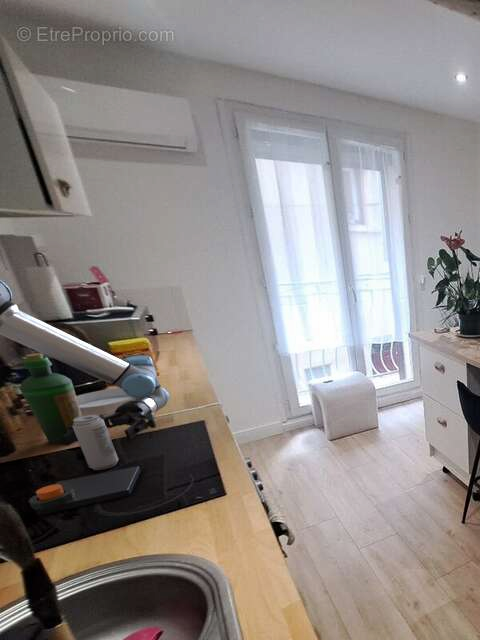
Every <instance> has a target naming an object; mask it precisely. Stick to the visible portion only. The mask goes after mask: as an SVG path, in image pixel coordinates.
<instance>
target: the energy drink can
mask: <svg viewBox="0 0 480 640" xmlns="http://www.w3.org/2000/svg"><path fill="white" fill-rule="evenodd" d="M73 421H74V424H73V426H72V427H73V429H74V432H75V434H76V436H77V439H78V440H77V441H78V443H79V446H80V449H81V451H82V453H83V456H84V459H85V460H86V464H87V465H88V468H91V469H92V470H94V471H101V470H102V471H103V470H106V469H109V468H112V467H115V466H116V465H117V464H118V462H119V459H120V458H119V457H118V454H117V452H116V449H115V446H114V444H113V442H112V441H113V440H112V438H111V436H110V433H109V430H108V428H107V427H106V425H105V422H104V420H103V419H101V418H100V417H99V415H95V414H93V415H85V416H81V417H78V418H75V419H74V420H73Z"/></svg>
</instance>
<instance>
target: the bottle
mask: <svg viewBox="0 0 480 640" xmlns="http://www.w3.org/2000/svg"><path fill="white" fill-rule="evenodd" d="M25 357H26V358H25V359H24V360H23V365H24V366H23V367H24V369H27V370H28V371H29V374H30V376H28V377H27V378H25V379H24V380H23V381H22V382H21V384H20V385H19V388H18V389H19V391H20V392H21V395H22V396H23V398H24V400H25V401H26V403H27V405H28V407H29V409H30V410H31V412H32V414H33V416H34V418H35V420H36V422H37V423H38V426H39V427H40V429H41V431H42V432H43V434H44V436H45V438H46V439H47V441H48V443H50V444H54V445H55V444H56V445H57V444H59V445H60V444H65V443H64V441H63V439H62V437H63V436H64V435H66V434H67V433H69V432H68V430H67V427H69V426H72V425H73V424H74V421H73V420H74V419H75V418H78V417H81V416H82V414H81V410H80V407H79V404H78V401H77V397H76V396H77V394H76V390H75V388H74V384H73V381H72V379H71V378H69V377H67V376H66V375H64V374H60V373H55V372H53V371H52V369H51V366H52V365H53V363H52V362H51V361H50V360H49V358H48V357H46V356H43V353H30V354H26V355H25Z"/></svg>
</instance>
